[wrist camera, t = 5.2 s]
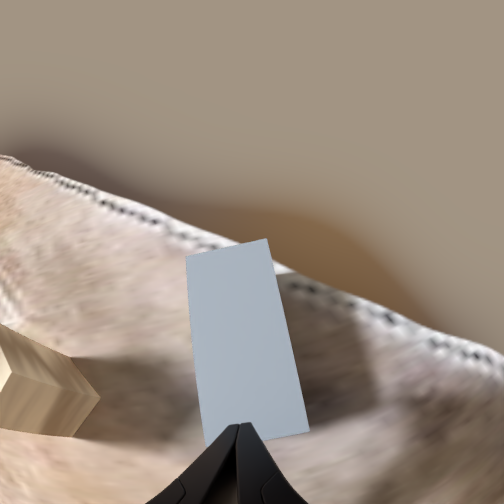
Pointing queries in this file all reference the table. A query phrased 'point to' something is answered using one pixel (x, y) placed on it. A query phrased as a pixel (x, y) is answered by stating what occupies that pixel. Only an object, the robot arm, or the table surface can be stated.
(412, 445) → the table surface
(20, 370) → the birch post
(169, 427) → the table surface
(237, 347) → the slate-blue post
